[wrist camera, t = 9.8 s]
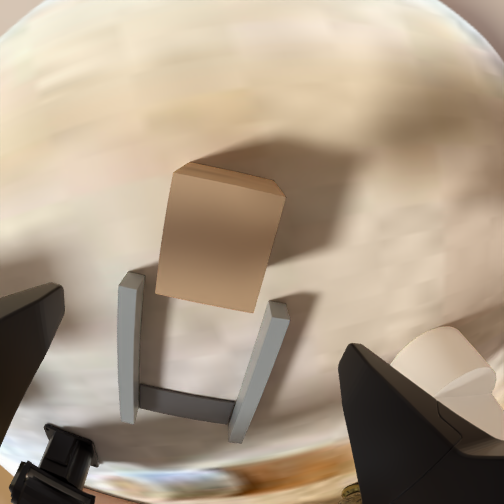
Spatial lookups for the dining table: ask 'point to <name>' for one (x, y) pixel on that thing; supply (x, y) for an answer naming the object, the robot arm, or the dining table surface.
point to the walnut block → (218, 236)
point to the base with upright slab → (453, 376)
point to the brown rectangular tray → (106, 498)
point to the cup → (351, 495)
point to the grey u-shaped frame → (186, 403)
